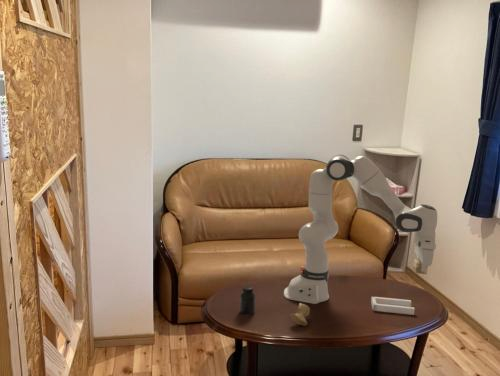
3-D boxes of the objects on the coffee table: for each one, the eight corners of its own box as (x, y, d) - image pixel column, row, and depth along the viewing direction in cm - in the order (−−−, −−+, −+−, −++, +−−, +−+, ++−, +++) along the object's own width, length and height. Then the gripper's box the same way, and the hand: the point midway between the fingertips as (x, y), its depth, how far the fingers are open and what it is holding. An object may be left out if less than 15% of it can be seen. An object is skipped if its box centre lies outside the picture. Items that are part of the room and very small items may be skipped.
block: (415, 273, 212) (416, 262, 211) (413, 269, 216) (414, 259, 215) (426, 274, 211) (427, 263, 210) (424, 270, 216) (425, 260, 215)
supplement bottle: (247, 307, 214) (248, 283, 212) (257, 312, 209) (258, 287, 207) (236, 311, 209) (237, 286, 207) (246, 316, 204) (247, 291, 202)
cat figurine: (290, 313, 196) (299, 295, 206) (286, 324, 200) (295, 306, 210) (308, 321, 194) (316, 303, 204) (304, 332, 198) (312, 314, 208)
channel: (373, 310, 216) (373, 304, 215) (371, 302, 225) (371, 296, 224) (413, 314, 213) (414, 308, 212) (410, 306, 222) (410, 300, 221)
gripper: (413, 233, 221) (410, 260, 224) (421, 246, 201) (418, 275, 204) (426, 234, 220) (423, 261, 223) (436, 247, 200) (433, 277, 203)
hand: (421, 268), depth 213 cm, fingers closed on block, 5 cm apart
